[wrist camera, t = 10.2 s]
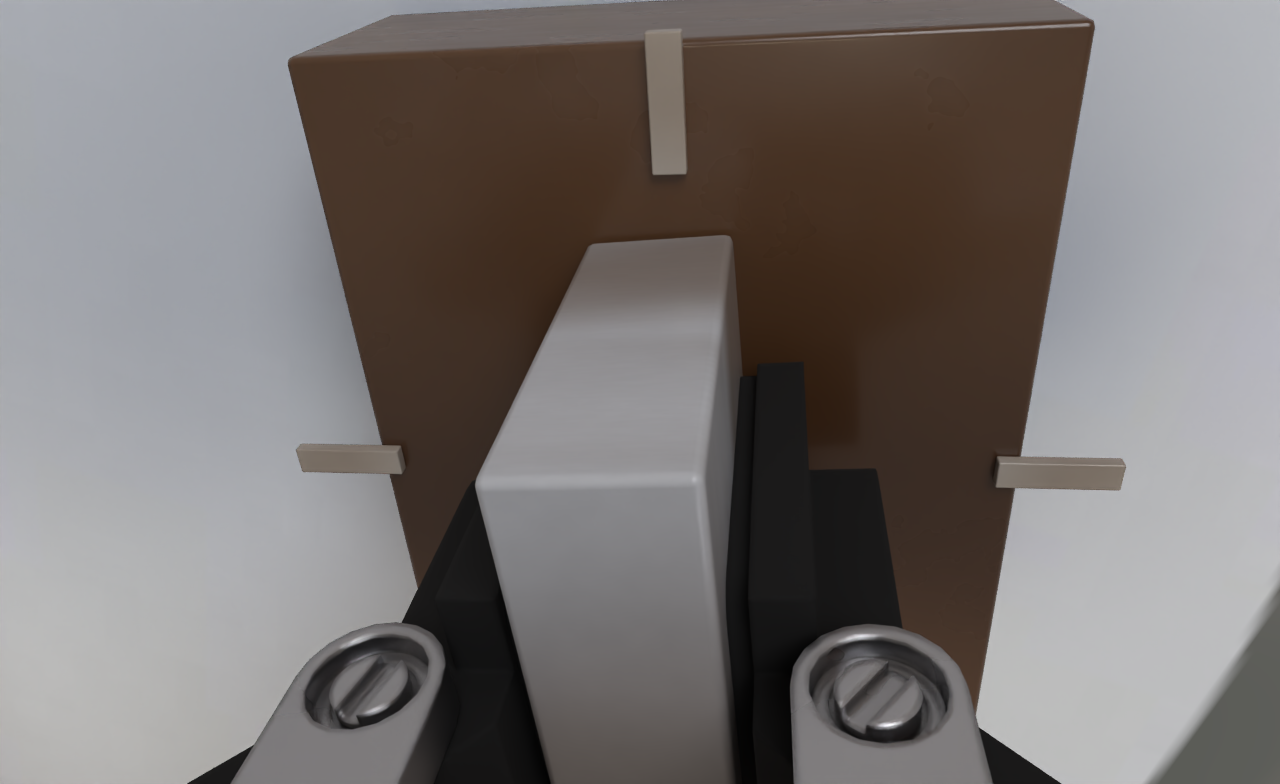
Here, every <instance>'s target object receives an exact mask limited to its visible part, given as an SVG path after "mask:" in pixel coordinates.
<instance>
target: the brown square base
mask: <svg viewBox="0 0 1280 784" xmlns="http://www.w3.org/2000/svg"><path fill="white" fill-rule="evenodd" d="M1094 30H1095V25H1094V21H1093V20H1091V19H1089V18H1087V17H1085V16H1084V15H1082V14H1080V13H1078V12H1076V11H1074V10H1072V9H1070V8H1068V7H1066V6H1065V5H1063V4H1061V3H1059V2H1057V1H1055V0H667V1H648V2H630V3H611V4H593V5H574V6H556V7H537V8H519V9H500V10H482V11H463V12H444V13H426V14H407V15H391V16H389V17H387V18H384V19H382V20H379V21H377V22H375V23H372V24H370V25H367V26H365V27H363V28H360V29H358V30H355V31H353V32H351V33H348V34H346V35H343V36H341V37H339V38H336V39H334V40H331V41H329V42H327V43H324V44H322V45H319V46H317V47H315V48H312V49H310V50H308V51H305V52H303V53H300V54H298V55H296V56H293V57H292V58H290V59H289V60H288V67H289V72H290V76H291V80H292V84H293V88H294V92H295V96H296V100H297V104H298V108H299V112H300V116H301V120H302V124H303V128H304V132H305V136H306V140H307V144H308V148H309V152H310V156H311V160H312V164H313V168H314V172H315V176H316V180H317V184H318V188H319V192H320V196H321V200H322V204H323V208H324V212H325V216H326V220H327V225H328V229H329V233H330V237H331V241H332V245H333V249H334V253H335V257H336V261H337V265H338V269H339V273H340V277H341V281H342V285H343V289H344V293H345V297H346V301H347V305H348V309H349V313H350V317H351V321H352V325H353V329H354V333H355V337H356V341H357V345H358V349H359V353H360V357H361V361H362V365H363V369H364V374H365V378H366V382H367V386H368V390H369V394H370V398H371V402H372V406H373V410H374V414H375V418H376V422H377V426H378V430H379V434H380V438H381V442H382V445H342V444H300V446H299V447H298V448H297V449H296V452H297V455H298V458H299V462H300V465H301V468H302V471H303V472H332V473H376V474H390V478H391V482H392V486H393V490H394V494H395V498H396V502H397V506H398V510H399V514H400V518H401V522H402V527H403V531H404V535H405V539H406V543H407V547H408V551H409V555H410V559H411V563H412V567H413V571H414V575H415V579H416V583H417V587H418V588H419V586H420V584H421V582H422V580H423V578H424V576H425V574H426V572H427V570H428V568H429V565H430V563H431V561H432V559H433V557H434V555H435V553H436V551H437V549H438V547H439V545H440V543H441V541H442V539H443V537H444V535H445V533H446V531H447V529H448V527H449V524H450V522H451V520H452V518H453V516H454V514H455V512H456V510H457V508H458V506H459V504H460V502H461V500H462V498H463V496H464V494H465V492H466V490H467V488H468V486H469V485H470V484H471V482H472V481H473V480H476V478H477V476H478V474H479V472H480V470H481V468H482V466H483V464H484V462H485V459H486V457H487V455H488V453H489V451H490V449H491V447H492V445H493V443H494V441H495V439H496V437H497V435H498V433H499V430H500V428H501V426H502V424H503V422H504V420H505V418H506V416H507V414H508V412H509V410H510V408H511V406H512V404H513V401H514V399H515V397H516V395H517V393H518V391H519V389H520V387H521V385H522V383H523V381H524V379H525V377H526V375H527V372H528V370H529V368H530V366H531V364H532V362H533V360H534V358H535V356H536V354H537V352H538V350H539V348H540V345H541V343H542V341H543V339H544V337H545V335H546V333H547V331H548V329H549V327H550V325H551V323H552V321H553V319H554V316H555V314H556V312H557V310H558V308H559V306H560V304H561V302H562V300H563V298H564V296H565V294H566V292H567V290H568V287H569V285H570V283H571V281H572V279H573V277H574V275H575V273H576V271H577V269H578V267H579V265H580V263H581V261H582V258H583V256H584V254H585V252H586V250H587V248H588V246H590V245H592V244H598V243H613V242H628V241H643V240H658V239H673V238H688V237H703V236H717V235H726V236H730V237H731V239H732V241H733V248H734V262H735V276H736V290H737V304H738V318H739V331H740V345H741V359H742V373H743V376H757V364H762V363H785V362H804V381H805V401H806V421H807V440H808V460H809V470H824V469H865V468H876V470H877V473H878V478H879V484H880V490H881V497H882V503H883V509H884V515H885V521H886V528H887V534H888V540H889V546H890V552H891V559H892V565H893V571H894V577H895V583H896V590H897V596H898V602H899V608H900V614H901V621H902V627H903V629H904V630H907V631H910V632H913V633H916V634H919V635H921V636H923V637H924V638H926V639H928V640H929V641H931V642H933V643H934V644H936V645H937V646H939V647H941V648H942V649H943V650H944V651H945V652H946V653H947V654H948V655H949V656H950V657H951V658H952V659H953V661H954V662H955V663H956V664H957V665H958V666H959V668H960V670H961V672H962V674H963V677H964V679H965V681H966V683H967V685H968V688H969V692H970V696H971V700H972V703H973V707H974V711H975V715H976V711H977V705H978V699H979V693H980V688H981V682H982V676H983V670H984V665H985V659H986V653H987V647H988V642H989V636H990V630H991V624H992V618H993V613H994V607H995V601H996V595H997V590H998V584H999V578H1000V572H1001V567H1002V561H1003V555H1004V549H1005V544H1006V538H1007V532H1008V526H1009V520H1010V515H1011V509H1012V503H1013V497H1014V492H1015V488H1036V489H1080V490H1120V489H1121V485H1122V481H1123V477H1124V473H1125V468H1126V465H1125V463H1124V461H1123V459H1121V458H1065V457H1021V451H1022V446H1023V440H1024V434H1025V428H1026V422H1027V417H1028V411H1029V405H1030V399H1031V394H1032V388H1033V382H1034V376H1035V371H1036V365H1037V359H1038V353H1039V347H1040V342H1041V336H1042V330H1043V324H1044V319H1045V313H1046V307H1047V301H1048V296H1049V290H1050V284H1051V278H1052V273H1053V267H1054V261H1055V255H1056V249H1057V244H1058V238H1059V232H1060V226H1061V221H1062V215H1063V209H1064V203H1065V198H1066V192H1067V186H1068V180H1069V175H1070V169H1071V163H1072V157H1073V151H1074V146H1075V140H1076V134H1077V128H1078V123H1079V117H1080V111H1081V105H1082V100H1083V94H1084V88H1085V82H1086V77H1087V71H1088V65H1089V59H1090V53H1091V48H1092V42H1093V36H1094Z"/></svg>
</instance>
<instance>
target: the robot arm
mask: <svg viewBox="0 0 1280 784" xmlns="http://www.w3.org/2000/svg"><path fill="white" fill-rule="evenodd" d="M475 483H476V480H473V481H472V482H471V484H470V485H469V486H468V488H467V490H466V492H465V494H464V496H463V498H462V500H461V502H460V504H459V506H458V508H457V510H456V512H455V514H454V516H453V518H452V520H451V522H450V524H449V527H448V529H447V531H446V533H445V535H444V537H443V539H442V541H441V543H440V545H439V547H438V549H437V551H436V553H435V555H434V557H433V559H432V561H431V563H430V565H429V568H428V570H427V572H426V574H425V576H424V578H423V580H422V582H421V584H420V586H419V588H418V590H417V592H416V594H415V596H414V598H413V600H412V602H411V604H410V606H409V609H408V611H407V613H406V615H405V617H404V619H403V621H402V623H398V622H395V623H385V624H374V625H371V626H368V627H365V628H361V629H358V630H355V631H352V632H350V633H348V634H346V635H344V636H342V637H340V638H338V639H336V640H335V641H333V642H331V643H329V644H328V645H326V646H325V647H324V648H323V649H322V650H320V651H319V652H318V653H317V654H315V655H314V656H313V657H312V658H310V659H309V661H308V662H307V663H306V664H305V666H304V667H303V668H302V669H301V671H300V672H299V673H298V674H297V676H296V677H295V679H294V680H293V682H292V684H291V685H290V687H289V688H288V690H287V692H286V693H285V695H284V697H283V698H282V700H281V702H280V703H279V705H278V707H277V708H276V710H275V711H274V713H273V715H272V716H271V718H270V720H269V721H268V723H267V725H266V726H265V728H264V730H263V731H262V733H261V734H260V736H259V738H258V739H257V741H256V743H255V744H254V745H253V746H251V747H250V748H248V749H246V750H244V751H243V752H241V753H239V754H238V755H236V756H234V757H232V758H231V759H229V760H227V761H225V762H224V763H222V764H220V765H218V766H217V767H215V768H213V769H212V770H210V771H208V772H206V773H205V774H203V775H201V776H199V777H198V778H196V779H194V780H193V781H191V782H189V783H187V784H551V782H550V778H549V774H548V770H547V766H546V762H545V759H544V755H543V751H542V747H541V743H540V739H539V735H538V731H537V727H536V723H535V719H534V716H533V712H532V708H531V704H530V700H529V696H528V692H527V688H526V684H525V680H524V676H523V673H522V669H521V665H520V661H519V657H518V653H517V649H516V645H515V641H514V637H513V633H512V630H511V626H510V622H509V618H508V614H507V610H506V606H505V602H504V598H503V594H502V590H501V587H500V583H499V579H498V575H497V571H496V567H495V563H494V559H493V555H492V551H491V547H490V544H489V540H488V536H487V532H486V528H485V524H484V520H483V516H482V512H481V508H480V504H479V501H478V497H477V493H476V488H475ZM726 621H727V633H728V643H729V654H730V664H731V674H732V684H733V695H734V705H735V715H736V726H737V736H738V746H739V757H740V767H741V777H742V784H1061V783H1060V782H1058V781H1057V780H1055V779H1054V778H1052V777H1051V776H1049V775H1048V774H1046V773H1045V772H1043V771H1042V770H1040V769H1039V768H1038V767H1036V766H1035V765H1033V764H1032V763H1030V762H1029V761H1027V760H1026V759H1024V758H1023V757H1021V756H1020V755H1018V754H1017V753H1015V752H1014V751H1013V750H1011V749H1010V748H1008V747H1007V746H1005V745H1004V744H1002V743H1001V742H999V741H998V740H996V739H995V738H993V737H992V736H991V735H989V734H988V733H986V732H985V731H983V730H982V729H980V728H979V727H978V723H977V719H976V715H975V711H974V707H973V703H972V700H971V696H970V692H969V688H968V685H967V683H966V681H965V679H964V677H963V674H962V672H961V670H960V668H959V666H958V665H957V664H956V663H955V662H954V661H953V659H952V658H951V657H950V656H949V655H948V654H947V653H946V652H945V651H944V650H943V649H942V648H941V647H939V646H937V645H936V644H934V643H933V642H931V641H929V640H928V639H926V638H924V637H923V636H921V635H919V634H916V633H913V632H910V631H907V630H904V629H903V627H902V621H901V614H900V608H899V602H898V596H897V590H896V583H895V577H894V571H893V565H892V559H891V552H890V546H889V540H888V534H887V528H886V521H885V515H884V509H883V503H882V497H881V490H880V484H879V478H878V473H877V470H876V468H865V469H824V470H809V460H808V440H807V421H806V401H805V381H804V362H785V363H762V364H757V376H741V377H740V386H739V400H738V414H737V428H736V442H735V456H734V470H733V484H732V498H731V512H730V526H729V540H728V554H727V568H726Z"/></svg>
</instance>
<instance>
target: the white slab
mask: <svg viewBox="0 0 1280 784" xmlns="http://www.w3.org/2000/svg"><path fill="white" fill-rule="evenodd" d="M741 376H743V373H742V359H741V345H740V331H739V318H738V304H737V290H736V276H735V262H734V248H733V241H732V239H731V237H730V236H726V235H717V236H703V237H688V238H673V239H658V240H643V241H628V242H613V243H598V244H592V245H590V246H588V248H587V250H586V252H585V254H584V256H583V258H582V261H581V263H580V265H579V267H578V269H577V271H576V273H575V275H574V277H573V279H572V281H571V283H570V285H569V287H568V290H567V292H566V294H565V296H564V298H563V300H562V302H561V304H560V306H559V308H558V310H557V312H556V314H555V316H554V319H553V321H552V323H551V325H550V327H549V329H548V331H547V333H546V335H545V337H544V339H543V341H542V343H541V345H540V348H539V350H538V352H537V354H536V356H535V358H534V360H533V362H532V364H531V366H530V368H529V370H528V372H527V375H526V377H525V379H524V381H523V383H522V385H521V387H520V389H519V391H518V393H517V395H516V397H515V399H514V401H513V404H512V406H511V408H510V410H509V412H508V414H507V416H506V418H505V420H504V422H503V424H502V426H501V428H500V430H499V433H498V435H497V437H496V439H495V441H494V443H493V445H492V447H491V449H490V451H489V453H488V455H487V457H486V459H485V462H484V464H483V466H482V468H481V470H480V472H479V474H478V476H477V478H476V483H475V488H476V493H477V497H478V501H479V504H480V508H481V512H482V516H483V520H484V524H485V528H486V532H487V536H488V540H489V544H490V547H491V551H492V555H493V559H494V563H495V567H496V571H497V575H498V579H499V583H500V587H501V590H502V594H503V598H504V602H505V606H506V610H507V614H508V618H509V622H510V626H511V630H512V633H513V637H514V641H515V645H516V649H517V653H518V657H519V661H520V665H521V669H522V673H523V676H524V680H525V684H526V688H527V692H528V696H529V700H530V704H531V708H532V712H533V716H534V719H535V723H536V727H537V731H538V735H539V739H540V743H541V747H542V751H543V755H544V759H545V762H546V766H547V770H548V774H549V778H550V782H551V784H742V777H741V767H740V757H739V746H738V736H737V726H736V715H735V705H734V695H733V684H732V674H731V664H730V654H729V643H728V633H727V621H726V568H727V554H728V540H729V526H730V512H731V498H732V484H733V470H734V456H735V442H736V428H737V414H738V400H739V386H740V377H741Z"/></svg>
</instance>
